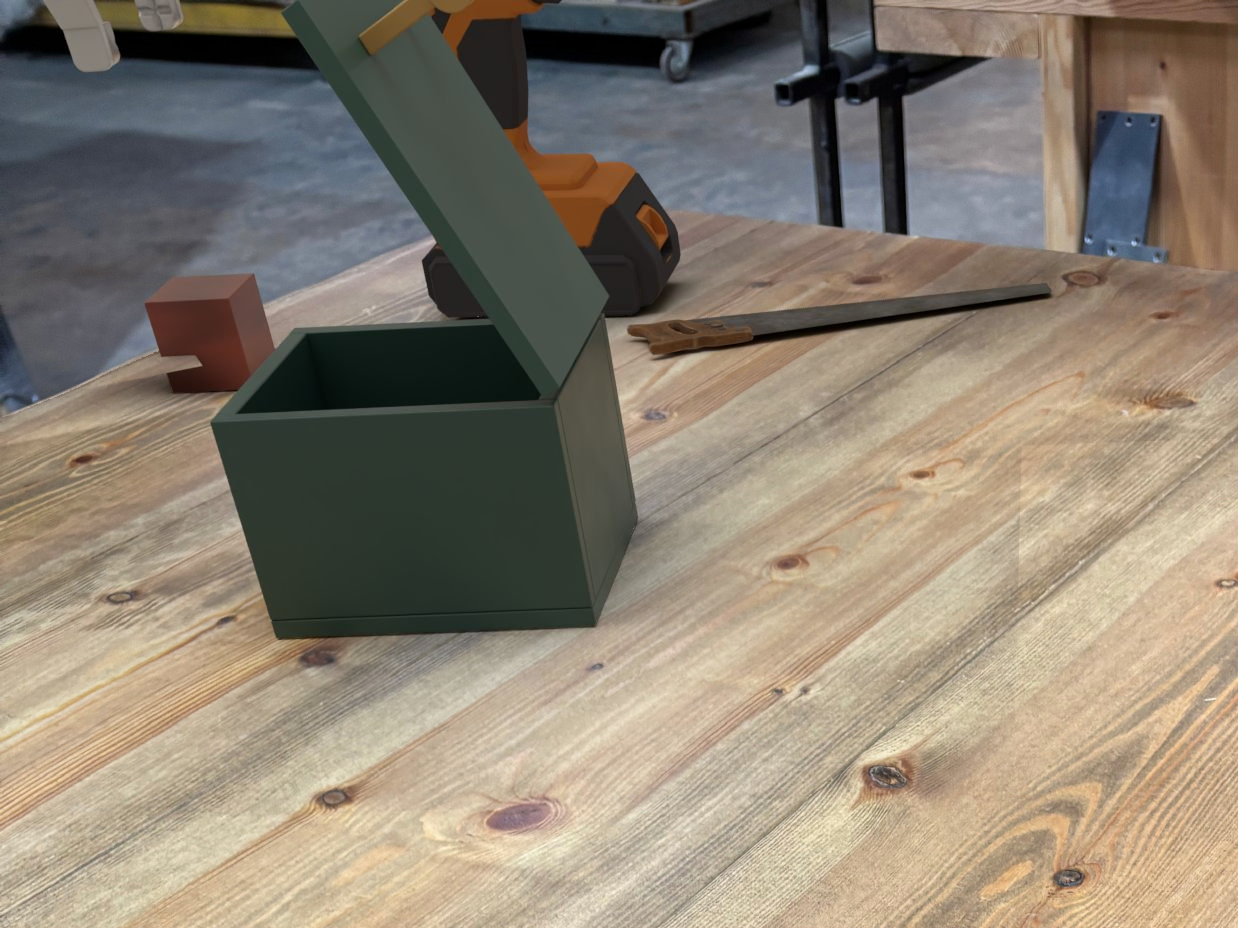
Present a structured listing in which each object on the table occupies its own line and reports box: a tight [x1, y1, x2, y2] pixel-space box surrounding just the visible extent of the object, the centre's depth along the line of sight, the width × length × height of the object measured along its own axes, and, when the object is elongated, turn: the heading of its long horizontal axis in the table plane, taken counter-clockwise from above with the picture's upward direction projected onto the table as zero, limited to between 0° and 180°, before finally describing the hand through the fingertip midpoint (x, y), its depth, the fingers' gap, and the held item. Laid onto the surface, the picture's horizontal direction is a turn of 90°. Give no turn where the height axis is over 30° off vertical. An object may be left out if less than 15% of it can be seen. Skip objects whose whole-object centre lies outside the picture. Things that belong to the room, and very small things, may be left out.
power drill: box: [421, 0, 682, 319], centre depth 106 cm, size 22×7×25 cm, turn 85°
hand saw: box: [626, 282, 1053, 356], centre depth 110 cm, size 24×5×1 cm, turn 108°
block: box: [144, 272, 276, 394], centre depth 106 cm, size 5×5×5 cm
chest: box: [209, 313, 639, 639], centre depth 82 cm, size 14×12×9 cm
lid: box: [280, 0, 609, 398], centre depth 74 cm, size 14×12×6 cm
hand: (133, 47), depth 97 cm, fingers open, 8 cm apart
